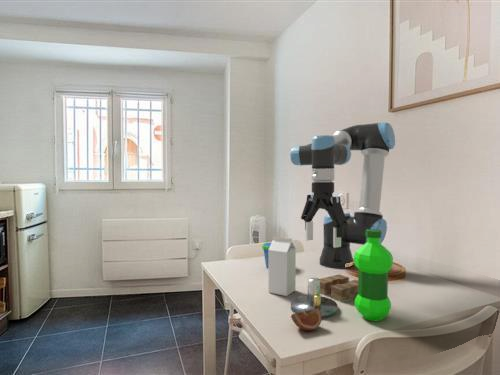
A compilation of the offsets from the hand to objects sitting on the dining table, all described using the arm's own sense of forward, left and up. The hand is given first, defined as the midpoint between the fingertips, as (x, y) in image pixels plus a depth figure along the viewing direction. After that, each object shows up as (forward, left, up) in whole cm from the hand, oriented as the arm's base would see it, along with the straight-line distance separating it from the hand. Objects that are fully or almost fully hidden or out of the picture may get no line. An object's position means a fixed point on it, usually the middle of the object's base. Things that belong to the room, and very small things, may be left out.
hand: (322, 243), depth 115 cm
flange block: (-5, +3, -17) cm, 18 cm away
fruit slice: (+23, +17, -18) cm, 33 cm away
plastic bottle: (+2, +22, -17) cm, 28 cm away
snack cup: (-5, -35, -17) cm, 39 cm away
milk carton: (+11, -9, -17) cm, 22 cm away
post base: (+12, +8, -17) cm, 22 cm away
